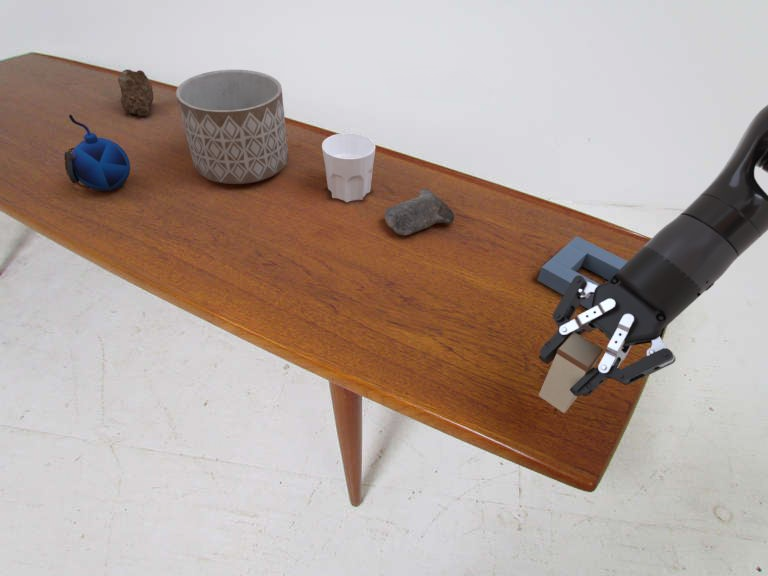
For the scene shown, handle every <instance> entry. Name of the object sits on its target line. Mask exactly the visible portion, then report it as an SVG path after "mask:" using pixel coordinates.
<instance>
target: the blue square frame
mask: <svg viewBox="0 0 768 576" xmlns="http://www.w3.org/2000/svg"><path fill="white" fill-rule="evenodd" d="M628 261H629V260H626V259H625V258H622V257H620V256H618V255H616V254H614V253H612V252H610V251H608V250H606V249H604V248H602V247H600V246H598V245H596V244H594V243H592V242H590V241H587V240H586V239H583V238H581V237H580V236H578V235H576V236H575V237H574V238H573V239H571V241H569V242H568V243H567V244H566V245H565V246H564V247H562V248H561V249H560V250H559V251H558V252H557V253H556V254H555V255H554V256H553V257H551V258H550V259H549V260H548V261H547V262H546V263H545V264H544V265H542V266H541V268H540V271H539V274H538V277H537V279H536V280H537V281H538V282H539V283H541V284H543V285H545V286H546V287H548V288H550V289H552V290H554V291H555V292H557V293H559V294H560V295H562V296H564V294H565V292H566V291H567V289H568V287H569V286H570V284H571V282H572V281H573V279H574V277H576V276H578V275H580V276H582V277H583V278H584V279H585V280H586V281H588V282H591V283H593V284H595V285H600V284H601V283H598V282H596V281H594V280H592V279H590V278H588V277H586V276H585V275H583V274H581V273H579V272H577V271H579V269H580V268H581V267H582V268H584V269H587V270H588V271H590V272H592V273H594V274H596V275H598V276H600V277H601V278H603V279H606V280H607V281H609V280H611V279H612V277H613V276H614V275H615V274H616V273H617V272H618V271H619V270H620V269H621V268H622V267H623V266H624V265H625V264H626V263H627V262H628ZM593 296H594V294H592V295H590V296H589V297H588V298H587V299H582V301H581V303H580V304H579V306H582V307H583V308H585V309H587V310H589V309H591V307H592V302H593Z"/></svg>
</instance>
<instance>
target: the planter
mask: <svg viewBox="0 0 768 576" xmlns="http://www.w3.org/2000/svg"><path fill="white" fill-rule="evenodd" d="M175 95H176V100H177V105H178V108H179V111H180V117H181V120H182V124H183V128H184V132H185V137H186V140H187V145H188V149H189V152H190V156H191V161H192V165H193V167H194V169H195V171H196V172H197V173H198V174H199V175H200V176H202V177H203V178H205V179H207V180H209V181H212V182H216V183H219V184H225V185H244V184H246V185H247V184H252V183H257V182H260V181H264V180H267V179H269V178H272V177H273V176H275V175H277V174H278V173H280V172H281V171H283V169H284V168H285V167H286V165H287V163H288V160H289V148H288V137H287V127H286V118H285V108H284V98H283V87H282V84H281V82H280V81H279V80H277V79H276V78H275V77H273V76H271V75H269V74H267V73H263V72H260V71H256V70H255V71H254V70H249V69H222V70H221V69H219V70H213V71H208V72H207V71H206V72H203V73H200V74H197V75H194V76H192V77H190V78H188V79H186V80H184V81H183V82H181V83H180V84H179V85H178V86H177V88H176V91H175Z"/></svg>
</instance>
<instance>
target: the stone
mask: <svg viewBox="0 0 768 576" xmlns="http://www.w3.org/2000/svg"><path fill="white" fill-rule="evenodd" d="M417 195H418V196H417V197H414V198H411V199H408V200H405V201H403V202H401V203H398V204H395V205H393V206H391V207H390V208H386V209H385V210H384V219H385V222H386V224H387V226H388V227H389V228H390V229H391V230H392V231H394V232H395V233H396V234H397V235H400V236H403V237H404V236H409V235H413V234H415V233H418V232H421V231H422V230H425V229H428V228H430V227H432V226H433V225H436V224H446V225H449V224H453V222H454V220H455V214H454V212H453V210H452V209H451V207H450V206H449V205H448V204H447V203H446V202H444V201H443V200H442V199H441V198H440V197H438V196H437V195H436V194H435V193H434V192H432V191H431V190H429V189H428V188H422V189H421V190H420V191H419V193H418V194H417Z"/></svg>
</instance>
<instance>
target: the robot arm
mask: <svg viewBox="0 0 768 576" xmlns="http://www.w3.org/2000/svg"><path fill="white" fill-rule="evenodd" d="M756 167H757V168H758V169H761V170H762V171H764V172H765V173H767V174H768V104H767V105H765V106H764V107H762V109H760V110H759V111H758V112H757V113H756V114H755V116H754V117H753V118H752V119H751V121H750V122H749V124H748V126H747V127H746V129H745V131H744V132H743V133H742V136H741V137H740V139H739V141H738V142H737V144H736V147H735V149H734V150H733V153H732V154H731V156H730V157H729V158H728V160H727V162H726V163H725V165H724V166H723V168H722V169H721V170H720V172H719V173H718V175H717V176H716V177H715V178H714V179H713V180H712V182H710V184H709V185H708V186H707V187H706V188H705V189H704V191H702V192H701V193H700V194H699V195H698V196H697V197H696V198H695V199H694V200H693V201H692V202H691V203H690V204H689V205H688V206H687V207H686V208H685V209H684V210H683V211H682V212H681V213H680V214H679V215H678V216H676V217H675V218H673V220H672V221H669V223H667V224H666V225H665V226H663V227H662V228H661V229H660V230H659V231H658V232H657V233H656V234H655V235H654V236H652V238H651V239H649V240H648V241H647V242H646V243H645V244H644V245H643V246H642V247H641V248H640V249H639V250H638V251H637V252H636V253H635V254H634V255H633V256H632V257H631V258H630V259H629V260H627V261H628V262H627V263H626V264H625V265H624V266H623V267H622V268H621V269H620V270H619V271H618V272H617V273H616V274H615V275H614V276H613V277H612V279H611V280H607V281H606V282H602V283H599V284H600V285H595V284H593V283H591V282H588V281H586V280H585V279H584V278H583V277H582V276H580V275H578V276H576V277H574V279H573V281H572V282H571V284H570V286H569V287H568V289H567V291H566V292H565V294H564V295H562V297H561V299H560V301H559V303H558V304H557V306H556V308H555V309H554V311H553V313H552V319H553V320H554V321H555V324H556V326H557V330H556V332H555V334H553V336H551V337H550V338H549V339H548V340H547V341H546V342H545V343H544V344H543V345H542V346H541V348H540V350H539V352H540V354H539V356H538V359H539V360H540V361H541V362H542V363H544V364H546V365H549V364H551V363H553V361H554V358H555V356H556V354H557V353H556V352H557V350H558V348H559V347H560V346H561V345H562V344H563V343H564V342H565V341H566V340H567V339H568V337H569V336H570V335H571V334H572V333H573V332H575V333H577V334H579V335H580V336H582V335H584V334H586V333H591V332H593V331H595V330H598V331H599V332H601V333H602V334H604V336H605V337H606V338H607V339H608V340H609V342H608V344H607V346H606V348H605V353H604V354H603V357H602V358H601V360H600V361H599V364H598V366H597V367H595V366H594V367H593V368H592V369H591V370H589V371H588V372H587V373H586V374H585V375H584V376H583V377H582V378H581V379H580V380H579V381H578V382H577V383H575V384H574V385H573V386H572V387H571V388H570V391H571V392H572V393H573V394H574V395H575V396H577V398H579V397H581V396H583V397H587V396H590V395H591V394H592V393H594V392H595V391H596V390H597V389H598V388H599V387H600V386H601V385H603V383H604V382H606V381H607V380H610V379H611V380H615V381H616V382H619V383H621V384H622V385H624V386H629V385H631V384H633V383H635V382H638V381H639V380H641V379H643V378H645V377H647V376H650V375H652V374H653V373H654V374H655V373H657V372H658V371H660V370H662V369H664V368H666V367H669V366H671V365H672V364H674V363H675V362H676V360H677V359H676V358H677V357H676V355H675V354H674V352H673V351H672V350H670V349H669V348H668V346H667V345H666V343H665V342H664V341H663V339H662V337H663V335H664V331H665V330H666V327H668V325H670V324H671V323H672V322H673V321H674V320H676V319H677V317H678V316H679V315H681V314H682V313H683V312H684V311H685V310H686V309H687V308H689V306H690V305H692V304H693V303H694V302H695V301H696V300H697V299H699V297H700V296H702V295H703V294H704V293H705V292H707V291H708V290H710V289H711V288H712V287H713V286H714V285H715V283H716V282H717V281H718V280H719V279H720V278H721V277H722V276H723V275H724V274H725V273H726V272H727V270H728V269H729V268H730V267H731V266H732V264H733V263H734V262H735V261H736V260H737V259H738V258H739V257H741V255H742V254H744V253H745V252H746V251H747V250H748V249H749V248H750V247H751V246H753V244H754V243H756V242H757V241H758V240H759V239H760V238H761V237H763V235H765V233H766V232H768V194H767V193H766V191H765V190H764V189H763V188H762V187H761V185H760V184H759V183H758V181H757V179H756V177H755V175H756V174H755V169H756ZM592 294H594V296H593V302H592V307H591V309H587V310H585V311H583V312H582V313H580V314H577V315H576V316H575V317H574V315H575V313H576V311H577V310H578V308H579V306H580V303H581V301H582V299H587V298H588V297H589V296H590V295H592ZM573 317H574V318H573ZM644 344H651V346H650V347H649V348H648V349H647V350H646V356H645V357H643V358H640V359H638V360H637V361H635V362H633V363H631V364H628V365H626V366H623V368H619V367H620V366H621V363H622V362H623V361H624V360H625V359H626V358H627V356H628V355H629V352H630V350H631V349H632V346H639V345H644Z"/></svg>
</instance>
